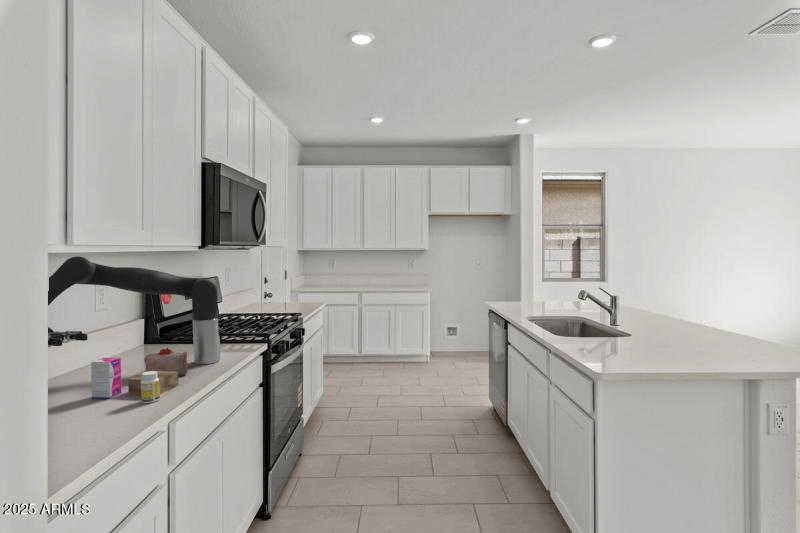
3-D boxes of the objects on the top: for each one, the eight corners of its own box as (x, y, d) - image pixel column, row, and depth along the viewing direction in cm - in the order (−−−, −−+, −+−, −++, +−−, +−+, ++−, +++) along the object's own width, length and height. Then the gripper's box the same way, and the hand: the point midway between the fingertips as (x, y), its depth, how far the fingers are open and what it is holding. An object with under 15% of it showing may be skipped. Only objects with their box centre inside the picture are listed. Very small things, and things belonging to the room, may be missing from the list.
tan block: (151, 385, 150) (150, 370, 150) (178, 386, 148) (178, 371, 148) (128, 395, 140) (128, 379, 140) (157, 396, 138) (157, 380, 138)
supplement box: (110, 399, 135) (108, 361, 135) (91, 399, 135) (89, 361, 135) (122, 393, 141) (121, 357, 141) (104, 393, 141) (102, 357, 141)
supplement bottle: (155, 397, 137) (154, 369, 136) (162, 400, 134) (161, 372, 133) (138, 401, 133) (137, 373, 133) (145, 404, 130) (144, 375, 130)
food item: (142, 381, 154) (141, 352, 154) (147, 375, 162) (146, 347, 162) (185, 377, 158) (184, 349, 158) (189, 371, 166) (188, 344, 166)
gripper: (8, 330, 136) (51, 331, 133) (53, 322, 150) (94, 324, 147) (9, 354, 137) (52, 356, 133) (54, 345, 150) (94, 346, 147)
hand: (74, 339), depth 140 cm, fingers open, 8 cm apart
